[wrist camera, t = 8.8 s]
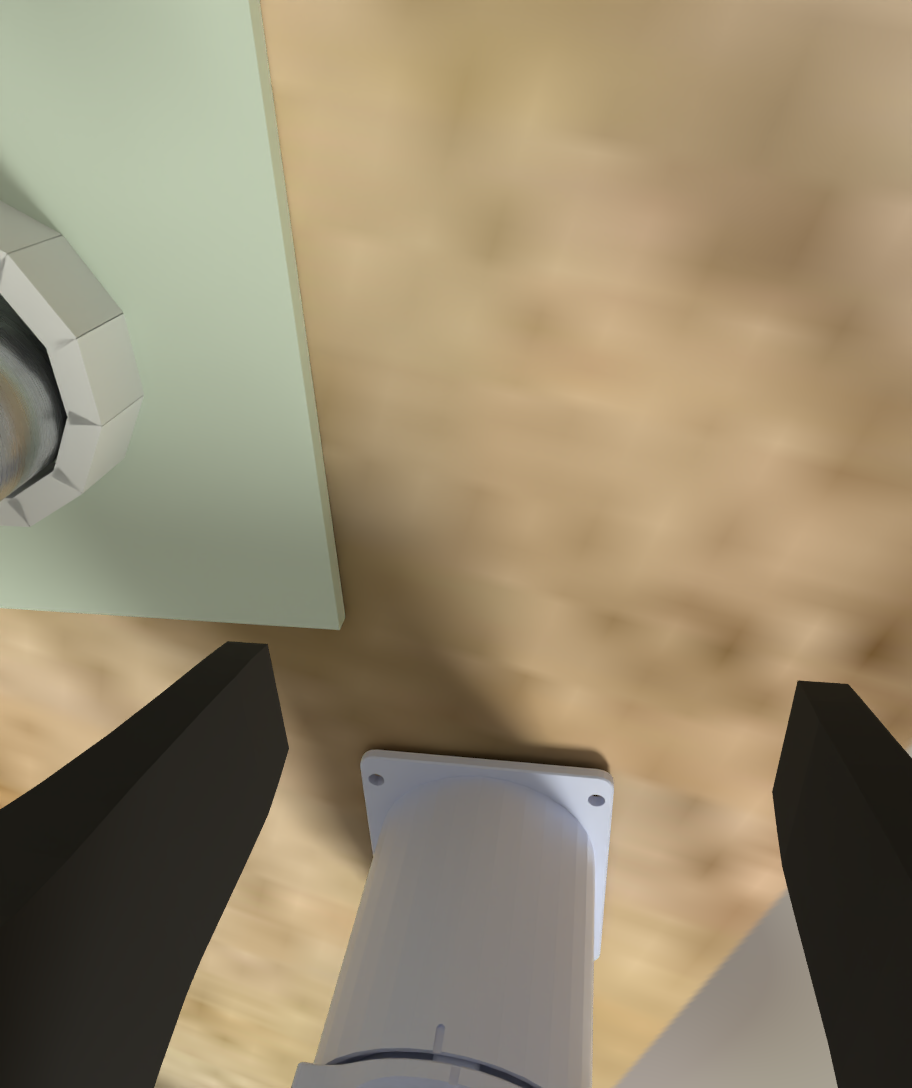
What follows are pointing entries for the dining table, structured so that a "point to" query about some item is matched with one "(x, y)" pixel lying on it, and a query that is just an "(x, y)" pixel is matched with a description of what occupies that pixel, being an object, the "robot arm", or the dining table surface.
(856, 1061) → the robot arm
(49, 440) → the silver canister
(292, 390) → the duct flange
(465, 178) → the dining table surface
